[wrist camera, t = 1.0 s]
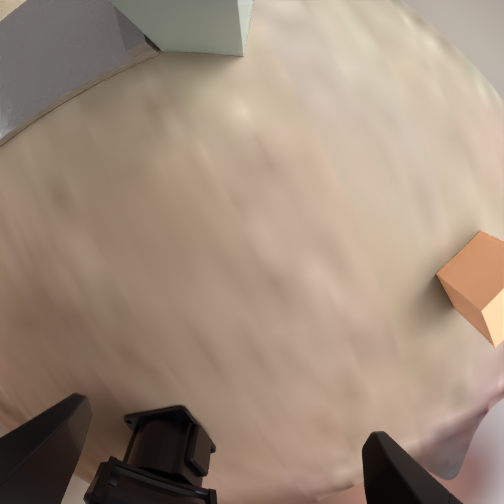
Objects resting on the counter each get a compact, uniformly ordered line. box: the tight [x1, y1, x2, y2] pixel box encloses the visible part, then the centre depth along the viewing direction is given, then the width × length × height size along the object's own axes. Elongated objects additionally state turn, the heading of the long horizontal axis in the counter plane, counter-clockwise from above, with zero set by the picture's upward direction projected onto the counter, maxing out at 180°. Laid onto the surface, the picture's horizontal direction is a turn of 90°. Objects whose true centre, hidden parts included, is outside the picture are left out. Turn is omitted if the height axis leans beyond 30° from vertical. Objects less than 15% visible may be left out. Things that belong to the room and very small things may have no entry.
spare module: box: [436, 231, 504, 347], centre depth 18 cm, size 5×4×6 cm
